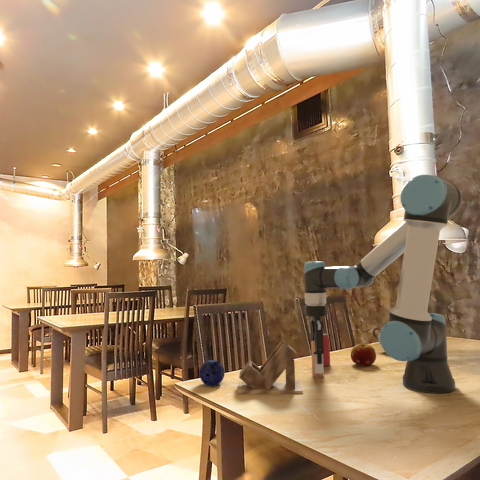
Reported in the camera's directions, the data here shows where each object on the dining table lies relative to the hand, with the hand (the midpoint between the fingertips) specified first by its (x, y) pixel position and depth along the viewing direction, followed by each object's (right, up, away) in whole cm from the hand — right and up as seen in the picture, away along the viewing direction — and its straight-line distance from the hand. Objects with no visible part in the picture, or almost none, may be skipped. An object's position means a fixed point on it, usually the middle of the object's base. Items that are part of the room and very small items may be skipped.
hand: (317, 370), depth 143 cm
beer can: (+5, -3, +17) cm, 18 cm away
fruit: (+21, -3, +15) cm, 26 cm away
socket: (-18, -3, -14) cm, 23 cm away
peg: (0, -2, 0) cm, 2 cm away
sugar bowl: (+43, -4, +38) cm, 57 cm away
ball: (-37, -2, -8) cm, 38 cm away
